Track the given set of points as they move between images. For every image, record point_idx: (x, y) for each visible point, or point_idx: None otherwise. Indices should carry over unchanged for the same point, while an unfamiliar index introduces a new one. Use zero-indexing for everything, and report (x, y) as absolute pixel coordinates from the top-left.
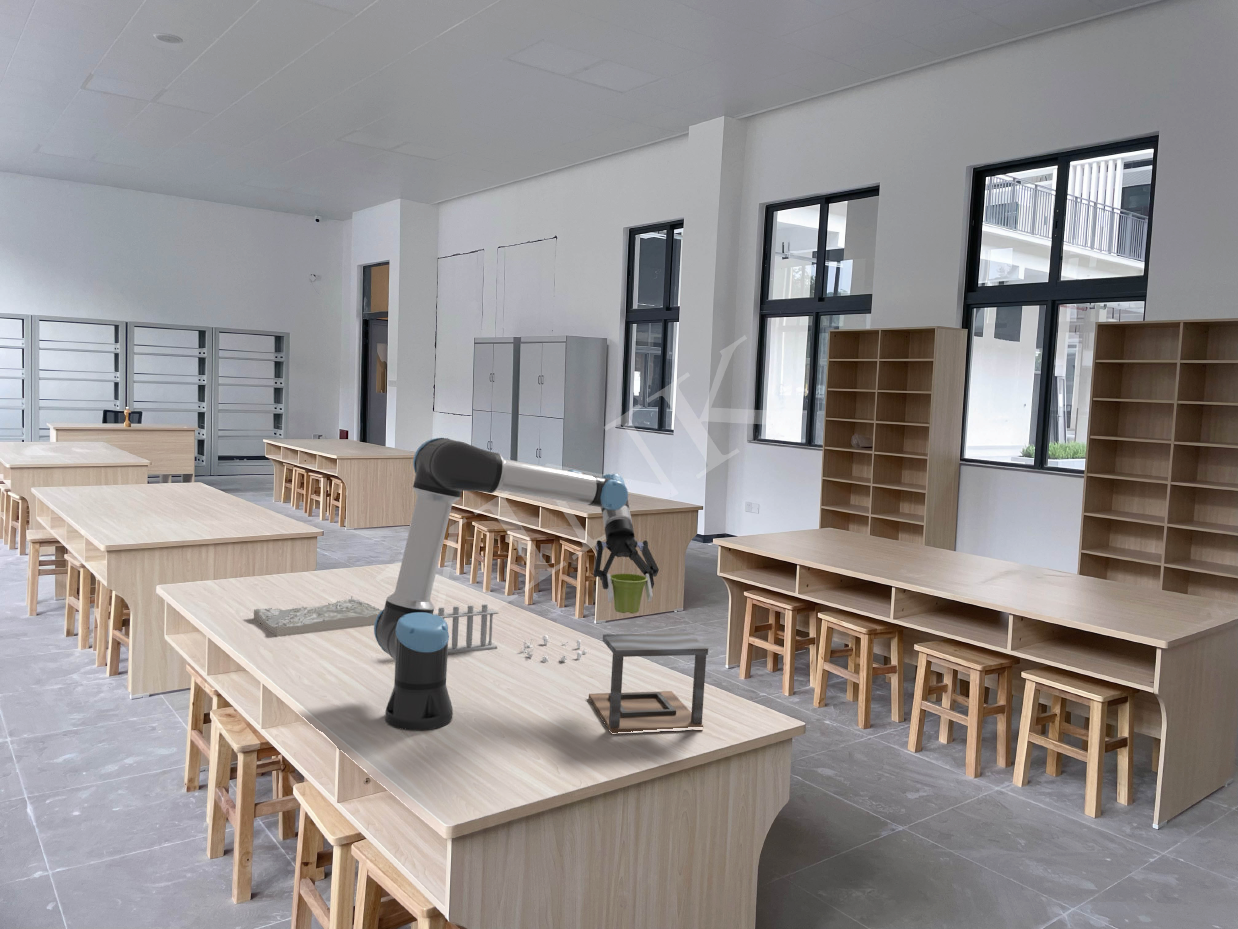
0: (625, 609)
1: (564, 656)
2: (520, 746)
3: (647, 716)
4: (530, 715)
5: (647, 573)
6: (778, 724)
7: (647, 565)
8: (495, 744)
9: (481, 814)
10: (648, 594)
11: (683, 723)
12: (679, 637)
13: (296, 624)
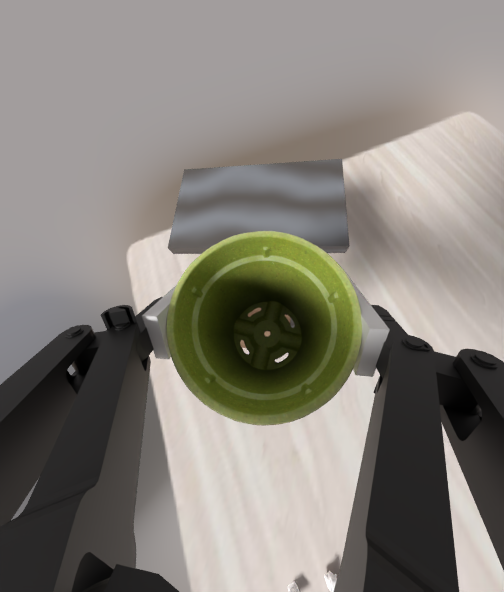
0: (281, 299)
1: (332, 578)
2: (418, 223)
3: None
4: (406, 303)
5: (139, 338)
6: (143, 249)
7: (96, 356)
8: (447, 229)
9: (448, 120)
10: None
11: None
12: (200, 223)
13: None
